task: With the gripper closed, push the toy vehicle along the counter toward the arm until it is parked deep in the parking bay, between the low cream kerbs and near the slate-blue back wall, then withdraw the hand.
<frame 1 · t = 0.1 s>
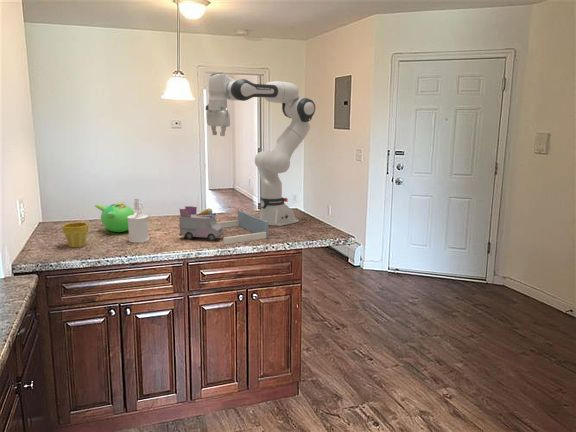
hand: (218, 135, 235), 48 cm above the worktop, tool pointing down, fingers open, 8 cm apart
plant pot: (77, 246, 213), on the worktop
green round vessel: (118, 231, 239), on the worktop
toy vehicle: (201, 239, 228), on the worktop
parking bay: (231, 234, 236), on the worktop
white soap dispenser: (138, 241, 223), on the worktop
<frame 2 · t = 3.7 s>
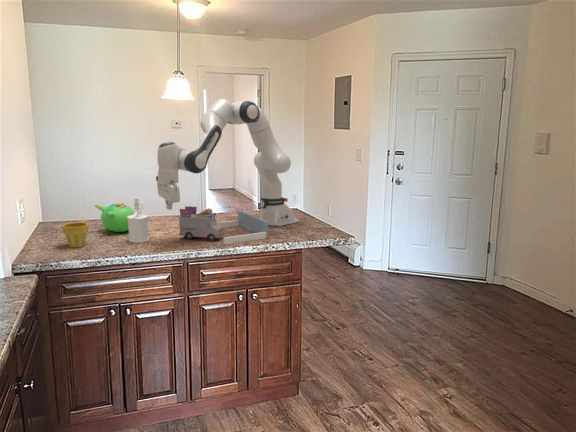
hand: (169, 209, 216), 16 cm above the worktop, tool pointing down, fingers closed
nothing on the worktop moved.
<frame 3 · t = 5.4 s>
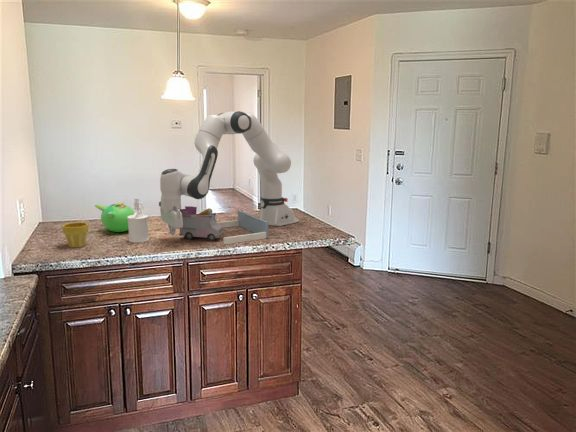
hand: (172, 234, 220), 4 cm above the worktop, tool pointing down, fingers closed
nothing on the worktop moved.
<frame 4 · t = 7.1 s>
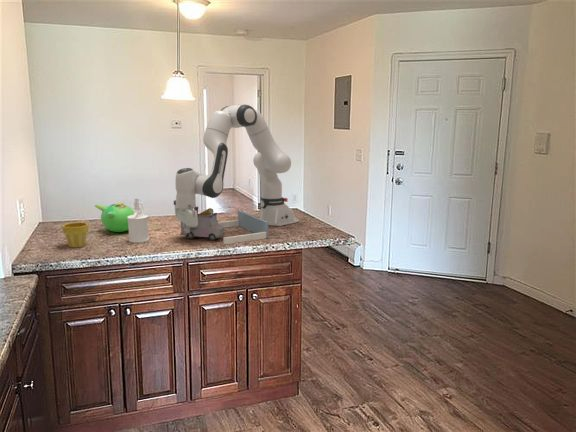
hand: (187, 232, 223), 4 cm above the worktop, tool pointing down, fingers closed
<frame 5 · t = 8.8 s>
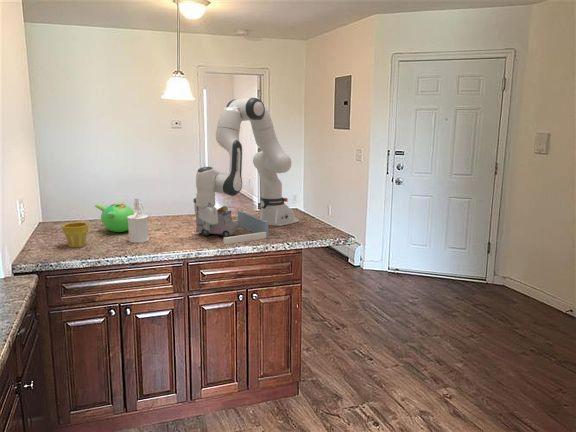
hand: (206, 229, 229), 4 cm above the worktop, tool pointing down, fingers closed
toy vehicle: (217, 235, 234), on the worktop, touching gripper
everything else where it was.
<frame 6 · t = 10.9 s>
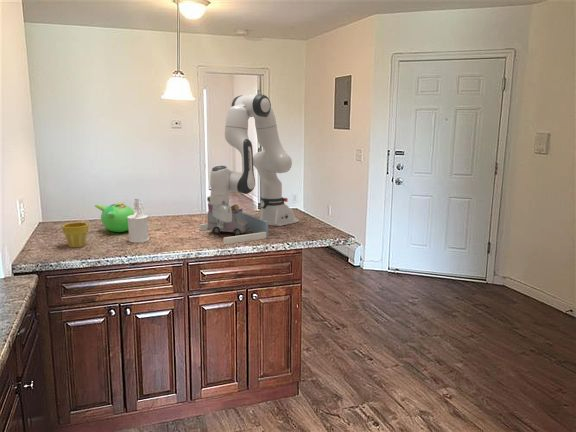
hand: (220, 227, 232), 4 cm above the worktop, tool pointing down, fingers closed
toy vehicle: (228, 233, 238), on the worktop, touching gripper
everything else where it was.
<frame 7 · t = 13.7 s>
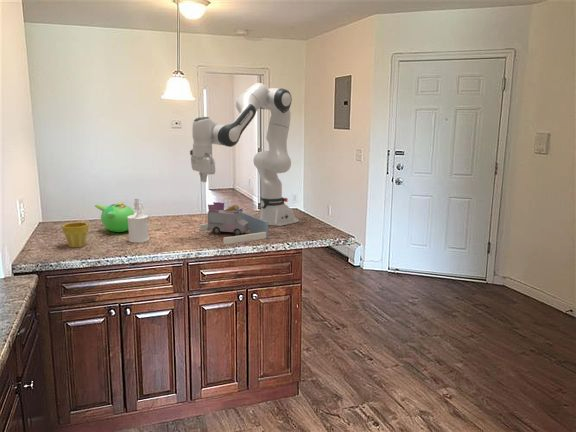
hand: (203, 181, 225), 27 cm above the worktop, tool pointing down, fingers closed
toy vehicle: (228, 233, 238), on the worktop
everything else where it was.
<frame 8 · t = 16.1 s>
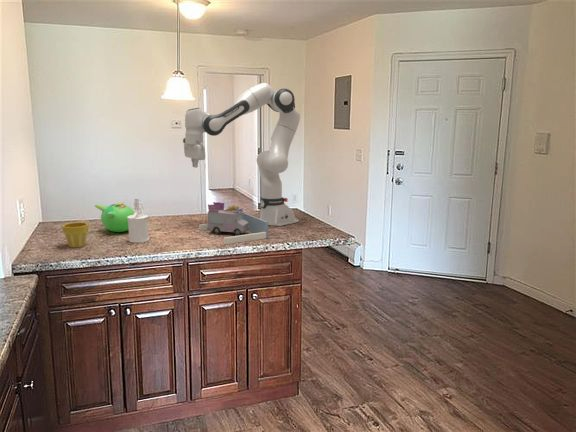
hand: (195, 167, 247), 31 cm above the worktop, tool pointing down, fingers closed
nothing on the worktop moved.
at the end: toy vehicle inside the target area (3.8 cm from its centre), on the worktop; toy vehicle tilted 0° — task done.
